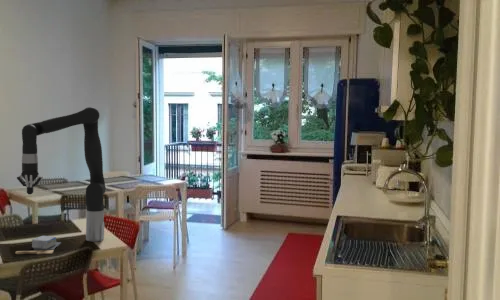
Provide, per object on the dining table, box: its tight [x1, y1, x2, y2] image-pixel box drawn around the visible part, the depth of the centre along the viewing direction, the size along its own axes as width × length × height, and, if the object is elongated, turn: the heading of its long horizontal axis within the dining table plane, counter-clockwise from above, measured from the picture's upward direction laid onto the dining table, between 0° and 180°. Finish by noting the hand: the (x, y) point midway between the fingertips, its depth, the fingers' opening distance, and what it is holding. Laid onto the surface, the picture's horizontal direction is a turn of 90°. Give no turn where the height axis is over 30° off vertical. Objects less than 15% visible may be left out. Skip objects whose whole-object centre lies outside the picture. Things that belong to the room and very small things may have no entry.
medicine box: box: [31, 235, 57, 249], centre depth 223 cm, size 8×4×9 cm
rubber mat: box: [33, 241, 62, 251], centre depth 225 cm, size 10×12×1 cm
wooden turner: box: [14, 249, 55, 255], centre depth 214 cm, size 17×4×1 cm, turn 106°
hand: (30, 194), depth 226 cm, fingers closed
